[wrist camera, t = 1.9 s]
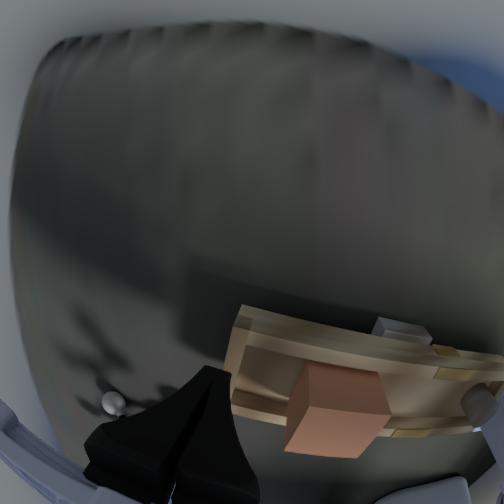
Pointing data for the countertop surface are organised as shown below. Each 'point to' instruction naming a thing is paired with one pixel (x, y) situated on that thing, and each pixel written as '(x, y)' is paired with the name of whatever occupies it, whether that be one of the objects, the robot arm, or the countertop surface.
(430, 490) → the plastic bottle
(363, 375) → the pink cube
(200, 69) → the countertop surface
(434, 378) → the wooden tray
